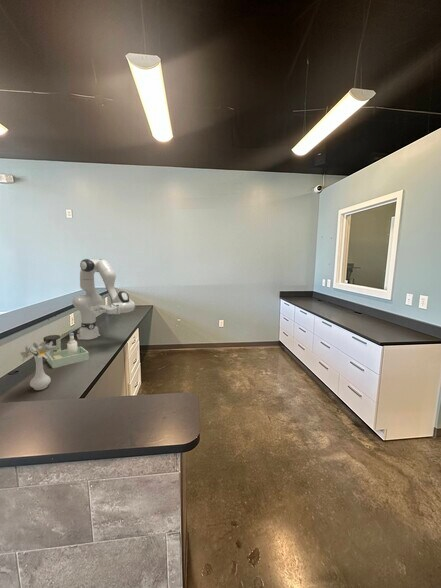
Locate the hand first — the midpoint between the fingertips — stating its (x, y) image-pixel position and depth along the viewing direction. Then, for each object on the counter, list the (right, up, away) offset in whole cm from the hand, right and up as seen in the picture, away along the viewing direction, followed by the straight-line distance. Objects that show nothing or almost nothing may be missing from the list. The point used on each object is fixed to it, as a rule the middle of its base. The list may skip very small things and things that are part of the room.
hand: (96, 310), depth 188 cm
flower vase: (-6, -39, -51) cm, 64 cm away
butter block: (-16, -34, -20) cm, 43 cm away
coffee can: (-28, -33, -7) cm, 44 cm away
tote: (-12, -34, -16) cm, 39 cm away
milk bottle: (-10, -33, -14) cm, 37 cm away
